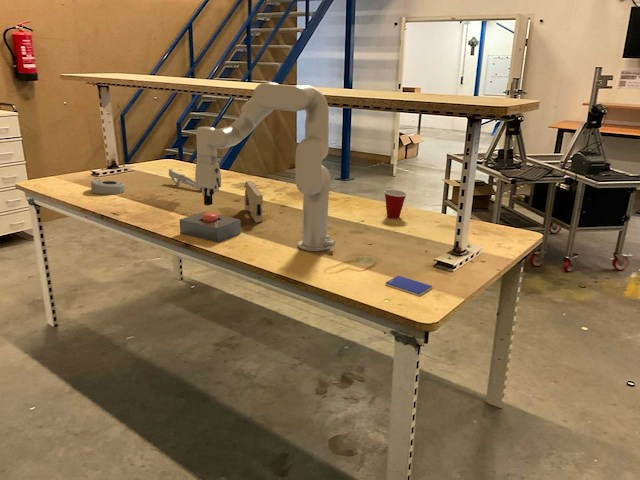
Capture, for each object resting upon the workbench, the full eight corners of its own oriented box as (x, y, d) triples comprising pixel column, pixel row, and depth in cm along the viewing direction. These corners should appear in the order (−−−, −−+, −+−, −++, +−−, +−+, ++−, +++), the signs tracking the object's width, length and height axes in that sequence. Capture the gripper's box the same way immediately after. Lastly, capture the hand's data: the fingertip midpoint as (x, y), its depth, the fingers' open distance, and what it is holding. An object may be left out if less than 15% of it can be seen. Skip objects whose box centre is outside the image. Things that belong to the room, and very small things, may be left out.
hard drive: (385, 282, 165) (419, 293, 158) (398, 274, 171) (432, 285, 164) (385, 286, 165) (419, 297, 158) (398, 279, 172) (432, 289, 164)
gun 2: (243, 208, 248) (243, 178, 242) (250, 208, 249) (250, 178, 243) (255, 227, 227) (256, 195, 221) (263, 227, 228) (263, 194, 222)
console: (240, 233, 211) (240, 219, 210) (217, 242, 200) (217, 228, 198) (204, 225, 221) (203, 211, 219) (180, 233, 209) (179, 219, 208)
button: (220, 221, 210) (220, 214, 209) (210, 224, 205) (210, 217, 204) (209, 219, 213) (209, 212, 212) (199, 222, 208) (199, 215, 207)
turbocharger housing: (121, 197, 268) (127, 190, 282) (120, 185, 266) (127, 179, 280) (86, 195, 265) (94, 188, 279) (86, 183, 263) (94, 177, 277)
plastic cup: (403, 221, 235) (405, 195, 231) (380, 218, 238) (381, 193, 234) (406, 215, 245) (409, 190, 241) (384, 212, 248) (386, 188, 244)
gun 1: (171, 180, 297) (171, 168, 294) (204, 198, 281) (205, 185, 278) (168, 181, 295) (168, 168, 292) (202, 199, 280) (203, 185, 277)
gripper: (228, 160, 200) (228, 205, 206) (199, 155, 207) (200, 199, 213) (215, 163, 194) (216, 209, 200) (186, 158, 201) (187, 203, 207)
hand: (208, 204), depth 207 cm, fingers closed
